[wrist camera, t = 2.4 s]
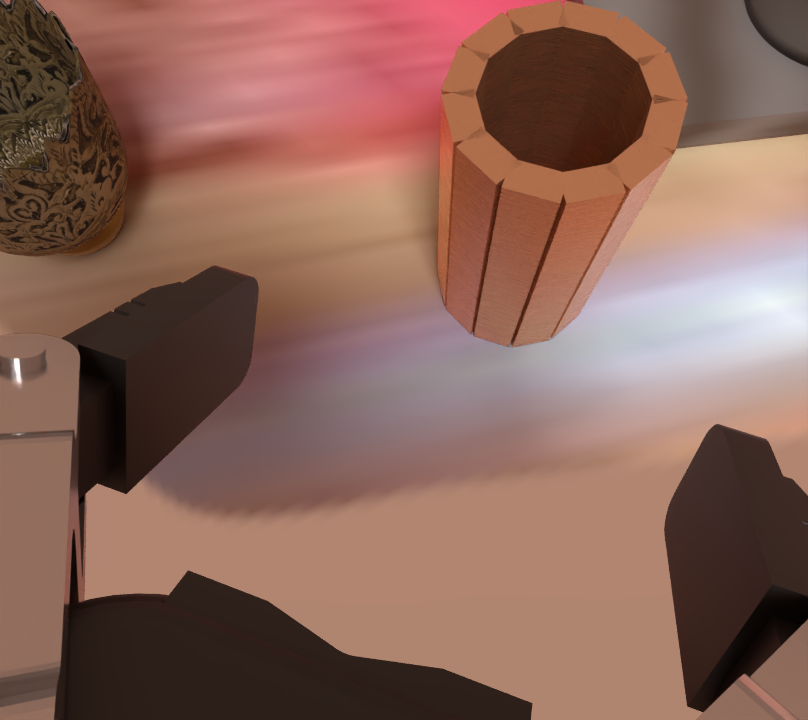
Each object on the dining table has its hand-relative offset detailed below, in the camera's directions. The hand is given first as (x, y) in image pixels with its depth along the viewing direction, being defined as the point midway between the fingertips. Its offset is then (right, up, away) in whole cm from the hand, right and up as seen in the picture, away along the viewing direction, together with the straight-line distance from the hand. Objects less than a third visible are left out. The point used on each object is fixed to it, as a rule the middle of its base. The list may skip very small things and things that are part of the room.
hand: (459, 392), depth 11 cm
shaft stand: (+17, +15, +16) cm, 28 cm away
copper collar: (+3, +4, +14) cm, 14 cm away
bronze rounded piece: (-14, +6, +15) cm, 22 cm away
